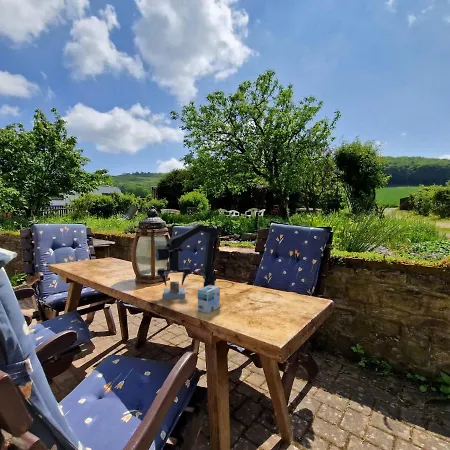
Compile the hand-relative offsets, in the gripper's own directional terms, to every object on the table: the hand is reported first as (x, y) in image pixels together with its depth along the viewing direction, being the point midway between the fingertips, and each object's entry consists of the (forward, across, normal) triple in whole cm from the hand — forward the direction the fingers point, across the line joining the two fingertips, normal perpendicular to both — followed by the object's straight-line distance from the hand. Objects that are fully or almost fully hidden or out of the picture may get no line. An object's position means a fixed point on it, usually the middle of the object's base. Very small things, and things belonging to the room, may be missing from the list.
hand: (174, 285), depth 152 cm
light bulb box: (+6, -17, +25) cm, 31 cm away
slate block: (+6, 0, 0) cm, 6 cm away
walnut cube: (+3, 0, 0) cm, 3 cm away
